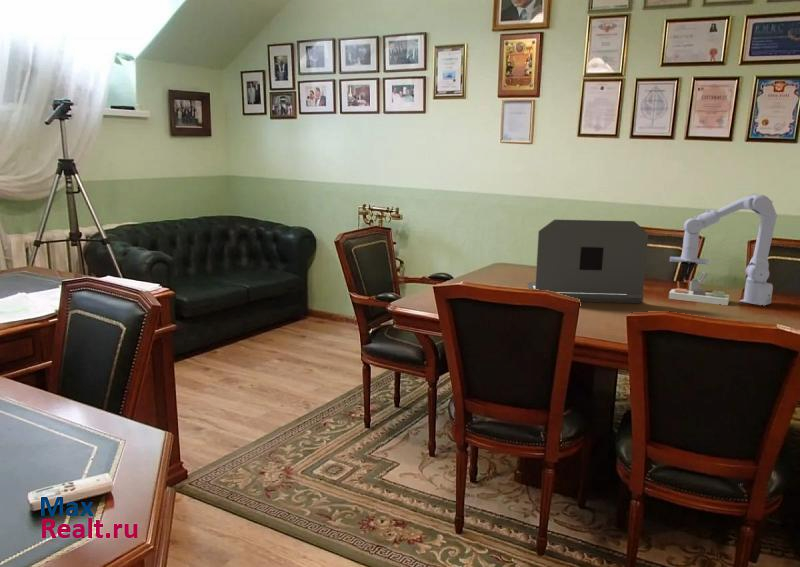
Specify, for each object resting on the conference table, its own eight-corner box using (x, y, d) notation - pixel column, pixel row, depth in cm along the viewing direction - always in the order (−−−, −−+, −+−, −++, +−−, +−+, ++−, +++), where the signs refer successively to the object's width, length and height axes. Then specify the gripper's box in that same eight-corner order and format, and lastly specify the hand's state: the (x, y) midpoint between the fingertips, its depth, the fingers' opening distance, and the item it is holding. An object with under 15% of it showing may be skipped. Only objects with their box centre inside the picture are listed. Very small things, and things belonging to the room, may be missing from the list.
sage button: (723, 298, 253) (724, 291, 253) (723, 300, 250) (723, 293, 249) (712, 297, 255) (713, 290, 255) (711, 299, 252) (712, 292, 251)
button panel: (728, 301, 255) (729, 295, 254) (727, 305, 247) (728, 299, 246) (671, 294, 265) (672, 288, 265) (668, 298, 258) (669, 292, 257)
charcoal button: (704, 296, 257) (705, 289, 256) (704, 298, 253) (704, 291, 253) (693, 295, 259) (694, 288, 258) (692, 297, 255) (693, 290, 255)
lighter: (691, 291, 273) (693, 273, 271) (688, 290, 274) (690, 272, 273) (705, 290, 274) (707, 273, 272) (702, 289, 276) (704, 272, 274)
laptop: (621, 288, 278) (627, 214, 271) (642, 305, 247) (650, 221, 240) (524, 285, 281) (528, 212, 274) (534, 301, 250) (539, 219, 243)
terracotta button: (686, 296, 260) (687, 289, 260) (685, 298, 257) (686, 291, 256) (675, 295, 262) (676, 288, 262) (674, 296, 259) (675, 289, 258)
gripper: (670, 247, 255) (666, 279, 257) (708, 250, 247) (705, 283, 250) (672, 245, 261) (669, 277, 263) (710, 248, 253) (706, 280, 256)
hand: (686, 280), depth 257 cm, fingers closed
